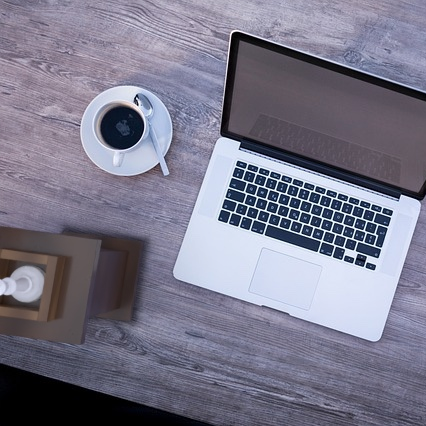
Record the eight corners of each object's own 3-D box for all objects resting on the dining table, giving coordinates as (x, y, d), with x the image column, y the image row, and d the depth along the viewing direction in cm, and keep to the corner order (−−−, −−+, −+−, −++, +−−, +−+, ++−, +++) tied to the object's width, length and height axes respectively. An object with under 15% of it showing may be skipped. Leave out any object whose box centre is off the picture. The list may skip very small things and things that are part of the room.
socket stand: (-35, 327, 77) (-54, 331, 73) (-17, 223, 78) (-34, 221, 74) (84, 343, 77) (72, 348, 73) (101, 239, 78) (90, 239, 74)
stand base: (52, 309, 102) (-28, 328, 77) (66, 231, 103) (-9, 224, 78) (131, 320, 102) (77, 342, 77) (144, 241, 103) (94, 238, 78)
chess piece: (55, 278, 76) (18, 282, 66) (33, 309, 76) (-8, 318, 66) (24, 257, 77) (-18, 258, 67) (2, 289, 76) (-43, 294, 66)
